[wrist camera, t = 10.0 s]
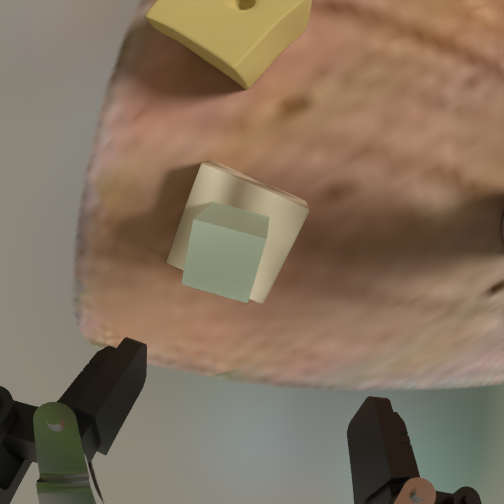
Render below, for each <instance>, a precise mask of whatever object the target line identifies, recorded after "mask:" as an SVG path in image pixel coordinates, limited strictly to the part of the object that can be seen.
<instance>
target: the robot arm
mask: <svg viewBox="0 0 504 504" xmlns="http://www.w3.org/2000/svg"><path fill="white" fill-rule="evenodd" d="M502 237H503V241H504V215H503V220H502ZM146 367H147V345H146V344H144V343H142V342H139V341H136V340H133V339H130V338H128V337H126V338H124V339H123V341H122V342H121V343H120V344H119V346H118V347H117V348H114V347H111V346H107V347H106V348H104V349H102V350H100V351H98V352H97V353H96V354H95V355H94V357H93V358H92V359H91V360H90V362H89V364H87V365H86V366H85V368H84V369H83V371H81V373H80V374H79V375H78V377H77V378H76V379H75V380H74V381H73V383H72V384H71V385H70V387H69V388H68V389H67V391H66V392H65V393H64V394H63V395H62V397H61V398H60V399H59V400H58V401H57V402H48V403H45V404H42V405H41V406H40V407H36V406H32V405H28V404H25V403H21V402H18V401H14V400H13V398H12V396H11V394H10V392H9V391H8V390H7V389H5V388H4V387H1V386H0V504H10V502H11V500H12V498H13V496H14V494H15V492H16V490H17V488H18V487H19V485H20V483H21V481H22V479H23V477H24V475H25V474H26V472H27V470H28V468H29V466H30V465H31V463H32V462H36V463H38V467H39V473H40V478H39V480H37V483H36V486H37V494H38V499H39V503H40V504H105V501H104V499H103V496H102V492H101V489H100V486H99V483H98V480H97V477H96V473H95V470H94V466H93V463H92V459H93V457H94V455H95V453H96V452H97V451H98V452H100V453H102V454H104V455H107V453H108V451H109V449H110V447H111V445H112V443H113V441H114V440H115V438H116V436H117V434H118V432H119V430H120V428H121V427H122V425H123V423H124V421H125V419H126V417H127V416H128V414H129V412H130V410H131V408H132V406H133V405H134V403H135V401H136V399H137V397H138V396H139V394H140V392H141V390H142V388H143V386H144V383H145V379H146ZM407 434H408V432H407V429H406V426H405V422H404V421H403V420H402V418H401V417H400V416H399V414H398V413H397V412H393V409H392V406H391V403H390V400H389V399H388V398H381V397H372V396H369V397H367V398H366V400H365V401H364V403H363V404H362V405H361V407H360V408H359V410H358V411H357V413H356V414H355V416H354V417H353V419H352V420H351V421H350V423H349V426H348V430H347V438H348V446H349V456H350V464H351V474H352V484H353V493H354V504H481V500H480V497H479V495H478V493H477V492H476V491H475V490H474V489H473V488H471V487H462V488H460V489H458V490H457V491H456V492H455V493H453V494H450V493H444V492H439V491H435V489H434V487H433V485H432V484H431V483H430V482H429V481H427V480H426V479H424V478H420V475H419V472H418V468H417V464H416V460H415V457H414V453H413V449H412V446H411V445H410V439H409V436H407Z"/></svg>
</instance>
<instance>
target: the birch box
mask: <svg viewBox="0 0 504 504" xmlns="http://www.w3.org/2000/svg"><path fill="white" fill-rule="evenodd" d="M212 202H217V203H220V204H224V205H228V206H232V207H235V208H239V209H243V210H247V211H250V212H254V213H258V214H261V215H265V216H268V217H270V218H269V226H268V233H267V240H266V243H265V247H264V250H263V253H262V257H261V260H260V264H259V267H258V271H257V274H256V277H255V281H254V284H253V287H252V291H251V294H250V298H249V299H251V300H254V301H256V302H259V303H261V304H263V302H264V300H265V299H266V297H267V295H268V293H269V291H270V289H271V287H272V285H273V283H274V281H275V279H276V277H277V275H278V273H279V271H280V269H281V267H282V265H283V263H284V261H285V259H286V257H287V255H288V253H289V251H290V249H291V247H292V245H293V243H294V241H295V239H296V237H297V235H298V233H299V231H300V229H301V227H302V225H303V223H304V221H305V219H306V217H307V215H308V213H309V211H310V209H309V207H308V205H307V202H306V201H305V200H303V199H301V198H298V197H296V196H294V195H292V194H290V193H287V192H285V191H283V190H281V189H279V188H276V187H274V186H272V185H269V184H267V183H265V182H263V181H260V180H258V179H256V178H253V177H251V176H249V175H246V174H244V173H242V172H239V171H237V170H234V169H232V168H230V167H227V166H225V165H222V164H220V163H217V162H215V161H209V162H205V163H202V164H201V166H200V169H199V171H198V174H197V177H196V179H195V182H194V185H193V187H192V190H191V193H190V195H189V198H188V201H187V204H186V206H185V209H184V212H183V215H182V218H181V220H180V223H179V226H178V229H177V232H176V235H175V238H174V241H173V244H172V247H171V250H170V253H169V256H168V259H167V262H166V263H168V264H170V265H173V266H175V267H177V268H179V269H182V270H184V267H185V261H186V256H187V250H188V245H189V240H190V235H191V230H192V225H193V220H194V218H196V217H197V216H198V215H199V214H200V213H201V212H202V211H203V210H205V209H206V208H207V207H208V206H209V205H210V204H211V203H212Z"/></svg>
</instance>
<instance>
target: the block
mask: <svg viewBox="0 0 504 504" xmlns="http://www.w3.org/2000/svg"><path fill="white" fill-rule="evenodd" d="M269 218H270V217H268V216H265V215H261V214H258V213H254V212H250V211H247V210H243V209H239V208H235V207H232V206H228V205H224V204H220V203H217V202H212V203H211V204H210V205H209V206H208V207H207V208H206V209H205V210H203V211H202V212H201V213H200V214H199V215H198V216H197V217H196V218H194V220H193V225H192V230H191V235H190V240H189V245H188V250H187V256H186V261H185V267H184V272H183V278H182V285H185V286H189V287H192V288H195V289H199V290H202V291H206V292H209V293H213V294H216V295H220V296H223V297H227V298H230V299H234V300H238V301H241V302H245V303H248V301H249V298H250V294H251V291H252V287H253V284H254V281H255V277H256V274H257V271H258V267H259V264H260V260H261V257H262V253H263V250H264V247H265V243H266V240H267V233H268V226H269Z"/></svg>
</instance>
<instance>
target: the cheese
mask: <svg viewBox="0 0 504 504" xmlns="http://www.w3.org/2000/svg"><path fill="white" fill-rule="evenodd" d="M311 4H312V0H158V1H157V2H156V3H155V4H154V5H153V6H152V7H151V9H150V10H149V11H148V13H147V14H146V16H145V17H146V19H147V20H148V21H149V23H150V24H151V25H152V26H153V27H154V28H155V29H157V30H158V31H159V32H161V33H163V34H164V35H166V36H168V37H170V38H173V39H175V40H176V41H178V42H180V43H182V44H183V45H184V46H186V47H187V48H189V49H190V50H191V51H193V52H194V53H196V54H197V55H198V56H200V57H201V58H202V59H204V60H205V61H207V62H208V63H210V64H211V65H213V66H214V67H216V68H217V69H219V70H220V71H221V72H223V73H224V74H226V75H227V76H229V77H230V78H231V79H233V80H234V81H235V82H237V83H238V84H239V85H241V86H242V87H243V88H244V89H246V90H247V89H249V88H250V87H251V86H252V84H253V83H254V82H255V81H256V80H257V79H258V78H259V77H260V76H261V75H262V74H263V73H264V71H265V70H266V69H267V68H268V67H269V66H270V65H271V63H272V62H273V61H274V60H275V59H276V58H277V57H278V56H279V54H280V53H281V52H282V51H284V50H285V49H286V48H287V47H288V46H289V45H290V44H291V43H292V42H293V41H294V40H295V39H296V38H297V37H299V36H300V35H301V34H302V33H303V32H304V30H305V28H306V26H307V22H308V18H309V12H310V8H311Z"/></svg>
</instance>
